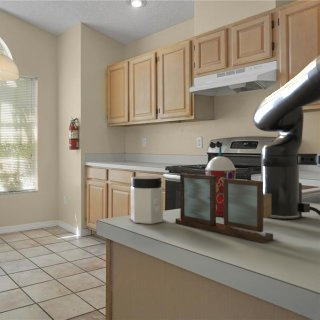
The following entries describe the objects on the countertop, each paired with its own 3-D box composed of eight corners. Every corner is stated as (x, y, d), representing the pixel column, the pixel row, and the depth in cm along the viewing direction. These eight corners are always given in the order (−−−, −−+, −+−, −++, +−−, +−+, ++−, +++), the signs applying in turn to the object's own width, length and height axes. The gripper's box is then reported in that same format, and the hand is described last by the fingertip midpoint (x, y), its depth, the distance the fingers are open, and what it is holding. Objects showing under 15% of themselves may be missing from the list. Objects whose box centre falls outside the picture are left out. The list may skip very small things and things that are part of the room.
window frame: (273, 239, 71) (273, 178, 71) (262, 242, 69) (262, 179, 68) (186, 220, 90) (186, 172, 90) (175, 223, 88) (174, 173, 88)
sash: (271, 229, 73) (271, 180, 73) (261, 232, 71) (261, 181, 71) (233, 222, 81) (233, 177, 81) (223, 224, 79) (223, 178, 78)
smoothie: (242, 216, 95) (242, 146, 94) (217, 218, 93) (217, 147, 92) (223, 211, 103) (223, 146, 102) (199, 212, 101) (199, 147, 100)
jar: (145, 225, 86) (145, 179, 85) (124, 220, 92) (124, 177, 92) (169, 221, 91) (168, 177, 90) (147, 216, 97) (147, 175, 97)
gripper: (429, 137, 56) (312, 140, 70) (405, 136, 49) (281, 140, 63) (428, 181, 56) (312, 175, 71) (404, 187, 49) (281, 179, 64)
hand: (298, 159), depth 67 cm, fingers closed
